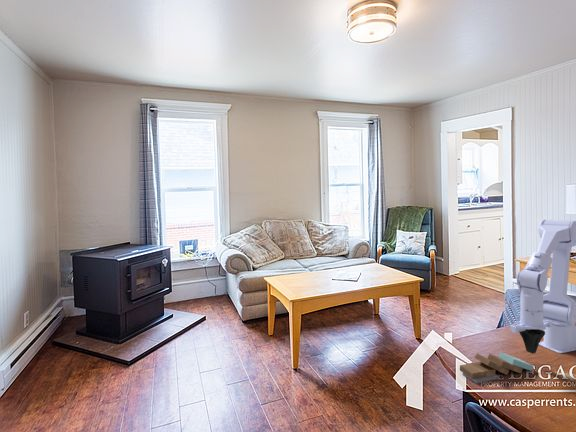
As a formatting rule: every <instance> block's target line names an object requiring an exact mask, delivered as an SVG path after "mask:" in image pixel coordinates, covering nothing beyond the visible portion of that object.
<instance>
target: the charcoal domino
mask: <svg viewBox="0 0 576 432" xmlns="http://www.w3.org/2000/svg"><path fill="white" fill-rule="evenodd" d="M462 376H464V377H466V378H467V379H468V380H470V381H471V382H473V383H474V384H476V385H477V384H481V383H484V382H488V381H493V380H497V379H499V375H498V374H496V373H495V375H491V376H486V377H480V378H475V379H472V378H470V377H469V376H467V375H466V374H464V373H463V372H462Z"/></svg>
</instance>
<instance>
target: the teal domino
mask: <svg viewBox="0 0 576 432" xmlns="http://www.w3.org/2000/svg"><path fill="white" fill-rule="evenodd" d="M497 357H499V358H501V359H503V360H505V361H507V362H509V363H510V364H512V365H515V366H518V367H521V368H523V370H524V369H525V370H528V371H531V372H533V370H534V367H535V366H534V365H532V364H531V363H528V362H526V361H525V360H523V359H521V358H518V357H515V356H513V355H509V354H507V353H505V352H502V351H500V352H499V354H498V356H497Z"/></svg>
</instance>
